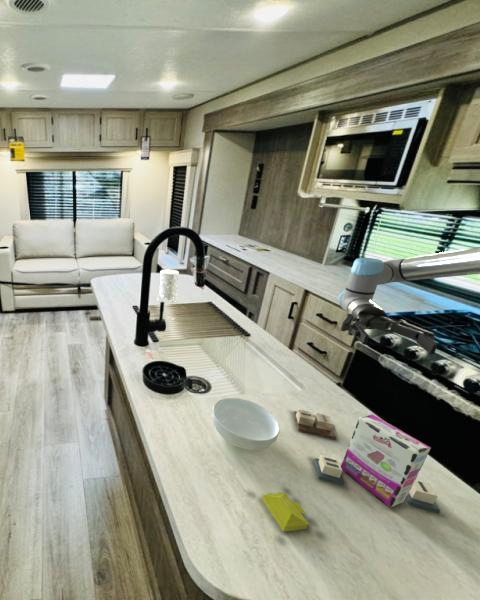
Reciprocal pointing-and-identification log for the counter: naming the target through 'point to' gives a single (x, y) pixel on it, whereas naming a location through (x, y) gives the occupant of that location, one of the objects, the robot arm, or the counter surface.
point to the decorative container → (168, 284)
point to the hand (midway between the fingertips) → (399, 344)
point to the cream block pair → (314, 424)
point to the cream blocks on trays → (417, 496)
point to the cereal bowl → (245, 423)
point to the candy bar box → (384, 459)
